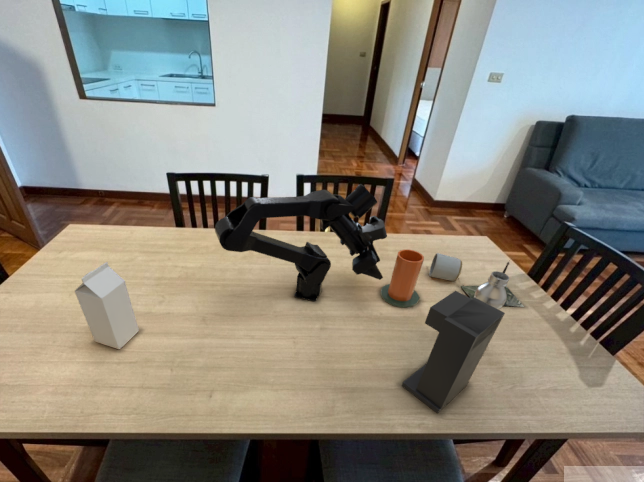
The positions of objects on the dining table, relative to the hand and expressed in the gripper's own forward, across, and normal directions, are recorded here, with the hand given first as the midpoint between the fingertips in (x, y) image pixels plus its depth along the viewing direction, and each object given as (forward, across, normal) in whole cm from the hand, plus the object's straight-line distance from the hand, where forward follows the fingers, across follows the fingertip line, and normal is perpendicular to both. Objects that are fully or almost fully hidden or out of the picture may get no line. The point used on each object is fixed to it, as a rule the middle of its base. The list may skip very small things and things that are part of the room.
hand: (380, 269), depth 99 cm
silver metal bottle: (+22, -17, -10) cm, 29 cm away
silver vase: (+31, +5, -19) cm, 37 cm away
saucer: (+11, 0, +1) cm, 11 cm away
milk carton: (-39, -29, +51) cm, 71 cm away
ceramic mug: (+22, +15, -10) cm, 28 cm away
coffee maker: (+14, -32, -2) cm, 35 cm away
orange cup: (+11, 0, 0) cm, 11 cm away
